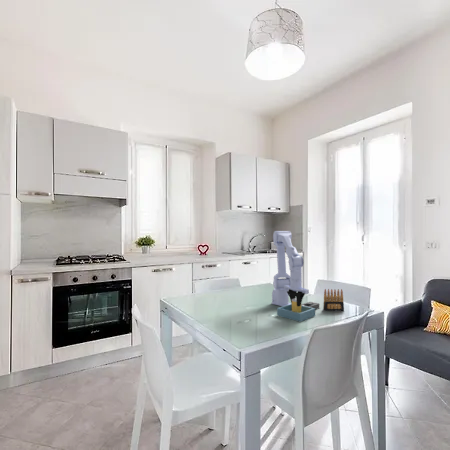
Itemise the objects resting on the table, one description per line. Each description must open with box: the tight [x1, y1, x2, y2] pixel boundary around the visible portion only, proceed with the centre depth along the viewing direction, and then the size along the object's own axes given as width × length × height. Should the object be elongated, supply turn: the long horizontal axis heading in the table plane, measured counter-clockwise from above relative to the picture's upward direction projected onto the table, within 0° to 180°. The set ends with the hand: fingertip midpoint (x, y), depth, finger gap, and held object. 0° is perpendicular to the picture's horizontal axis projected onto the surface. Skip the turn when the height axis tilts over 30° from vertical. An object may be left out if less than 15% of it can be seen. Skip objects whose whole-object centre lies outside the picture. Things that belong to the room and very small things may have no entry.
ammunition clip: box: [323, 288, 345, 312], centre depth 160 cm, size 11×2×12 cm, turn 85°
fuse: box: [292, 298, 301, 313], centre depth 151 cm, size 3×4×7 cm
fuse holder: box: [301, 301, 320, 310], centre depth 162 cm, size 6×14×3 cm, turn 133°
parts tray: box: [276, 304, 316, 323], centre depth 151 cm, size 14×14×4 cm
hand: (296, 305), depth 151 cm, fingers closed on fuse, 3 cm apart
